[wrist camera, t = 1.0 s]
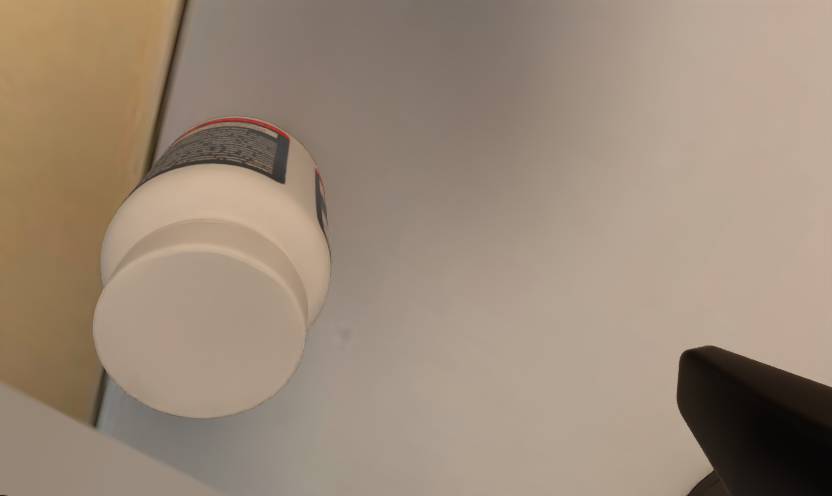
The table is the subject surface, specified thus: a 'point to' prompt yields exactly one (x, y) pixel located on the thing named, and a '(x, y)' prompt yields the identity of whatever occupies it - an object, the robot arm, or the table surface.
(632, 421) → the table surface
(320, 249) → the pill bottle
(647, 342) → the table surface
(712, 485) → the pen holder
